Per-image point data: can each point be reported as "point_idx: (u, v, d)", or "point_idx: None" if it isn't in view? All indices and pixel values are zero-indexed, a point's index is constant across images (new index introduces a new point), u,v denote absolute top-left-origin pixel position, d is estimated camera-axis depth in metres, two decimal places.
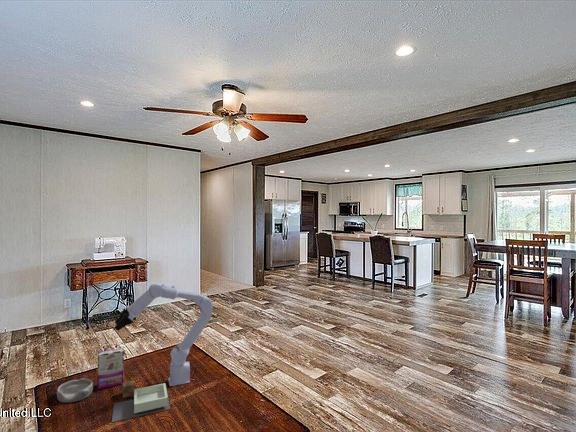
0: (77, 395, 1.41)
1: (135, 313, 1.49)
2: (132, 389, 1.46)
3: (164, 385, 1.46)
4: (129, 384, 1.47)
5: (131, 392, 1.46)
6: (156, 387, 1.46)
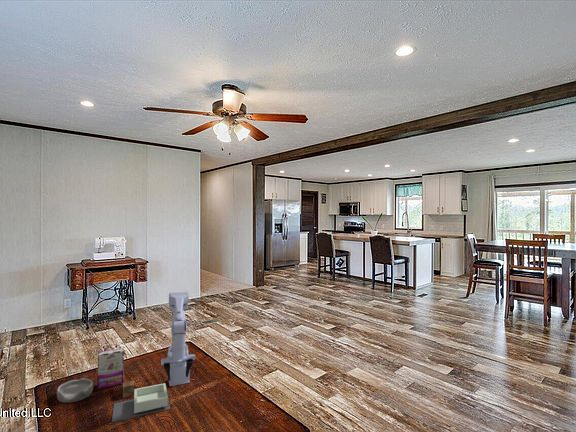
0: (77, 395, 1.41)
1: None
2: (132, 389, 1.46)
3: (164, 385, 1.46)
4: (129, 384, 1.47)
5: (131, 392, 1.46)
6: (156, 387, 1.46)
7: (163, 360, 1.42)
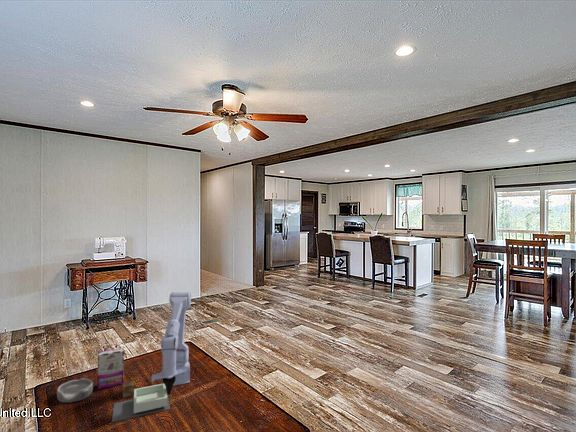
0: (77, 395, 1.41)
1: None
2: (132, 389, 1.46)
3: (164, 385, 1.46)
4: (129, 384, 1.47)
5: (131, 392, 1.46)
6: (155, 387, 1.46)
7: (153, 376, 1.40)
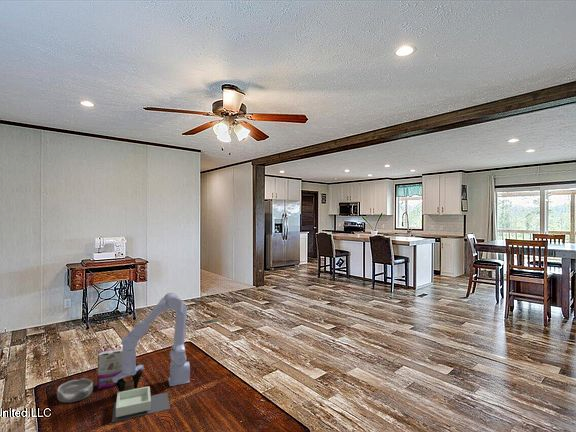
0: (77, 395, 1.41)
1: None
2: None
3: (148, 388, 1.43)
4: (129, 384, 1.47)
5: None
6: (140, 390, 1.43)
7: (116, 377, 1.42)
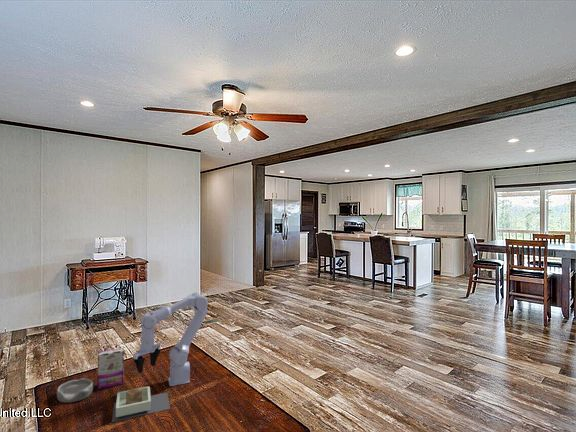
0: (77, 395, 1.41)
1: None
2: (140, 395, 1.37)
3: (148, 388, 1.43)
4: (136, 391, 1.37)
5: (139, 399, 1.37)
6: None
7: (136, 354, 1.45)
